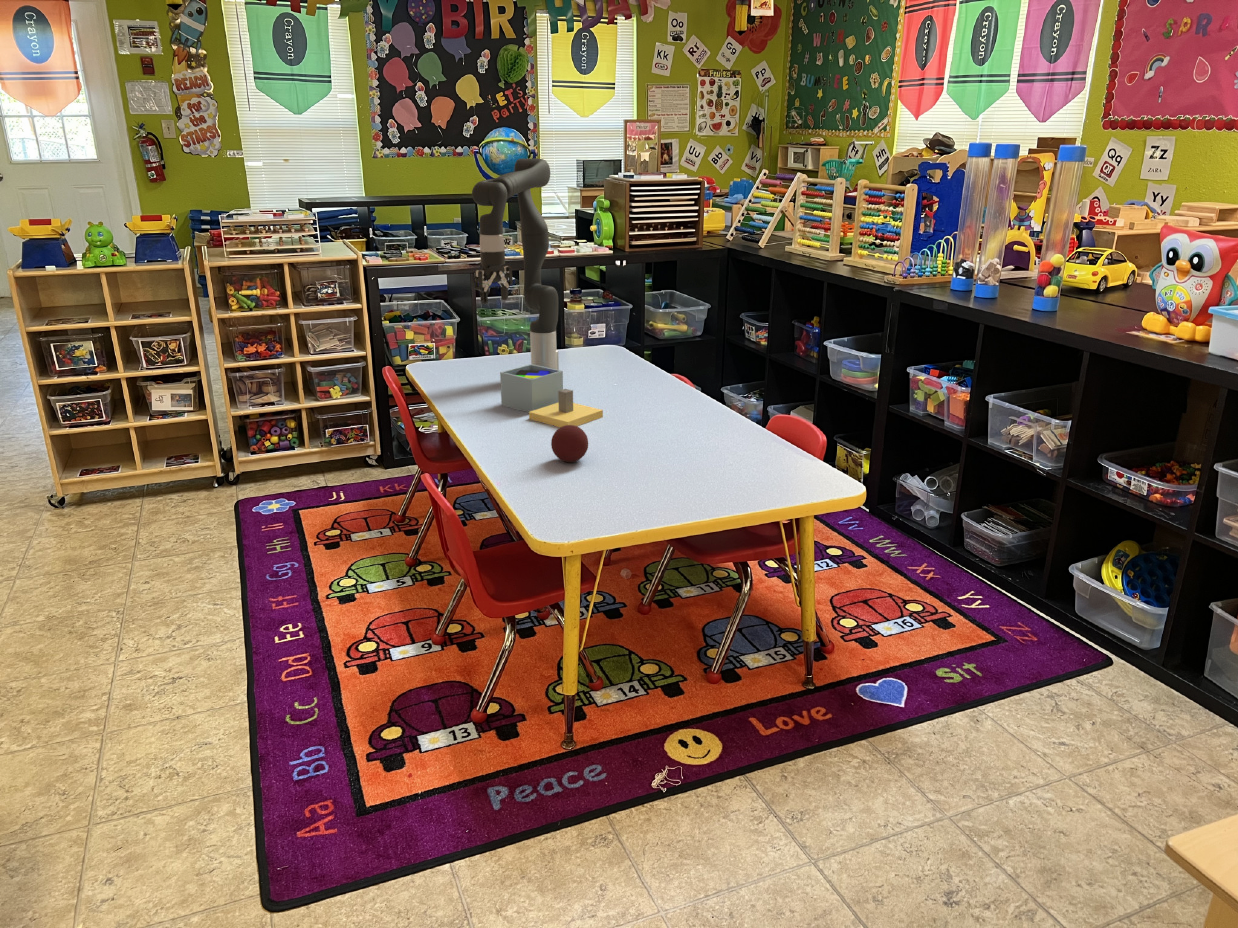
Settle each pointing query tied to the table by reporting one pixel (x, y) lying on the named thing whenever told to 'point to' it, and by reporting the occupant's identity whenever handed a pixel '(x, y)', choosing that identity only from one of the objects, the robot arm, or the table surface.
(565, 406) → the lid
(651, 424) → the table surface
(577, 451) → the decorative ball
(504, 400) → the box
